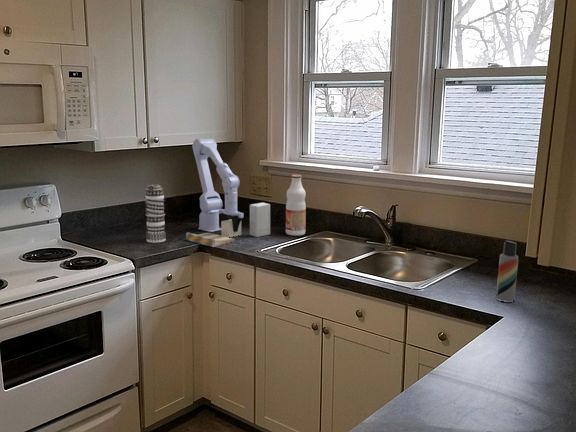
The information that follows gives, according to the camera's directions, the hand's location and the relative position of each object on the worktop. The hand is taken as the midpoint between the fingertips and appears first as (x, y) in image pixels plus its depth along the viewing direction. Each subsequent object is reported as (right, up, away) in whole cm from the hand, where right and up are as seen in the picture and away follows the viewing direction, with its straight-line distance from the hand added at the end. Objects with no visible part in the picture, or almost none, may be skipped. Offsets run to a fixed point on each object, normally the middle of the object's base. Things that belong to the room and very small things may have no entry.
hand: (231, 230), depth 274 cm
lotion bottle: (+98, -21, -82) cm, 129 cm away
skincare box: (+13, -2, +2) cm, 14 cm away
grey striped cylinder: (-33, -4, -11) cm, 35 cm away
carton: (0, -2, 0) cm, 2 cm away
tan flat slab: (-8, -4, -10) cm, 13 cm away
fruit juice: (+30, -2, +6) cm, 31 cm away
